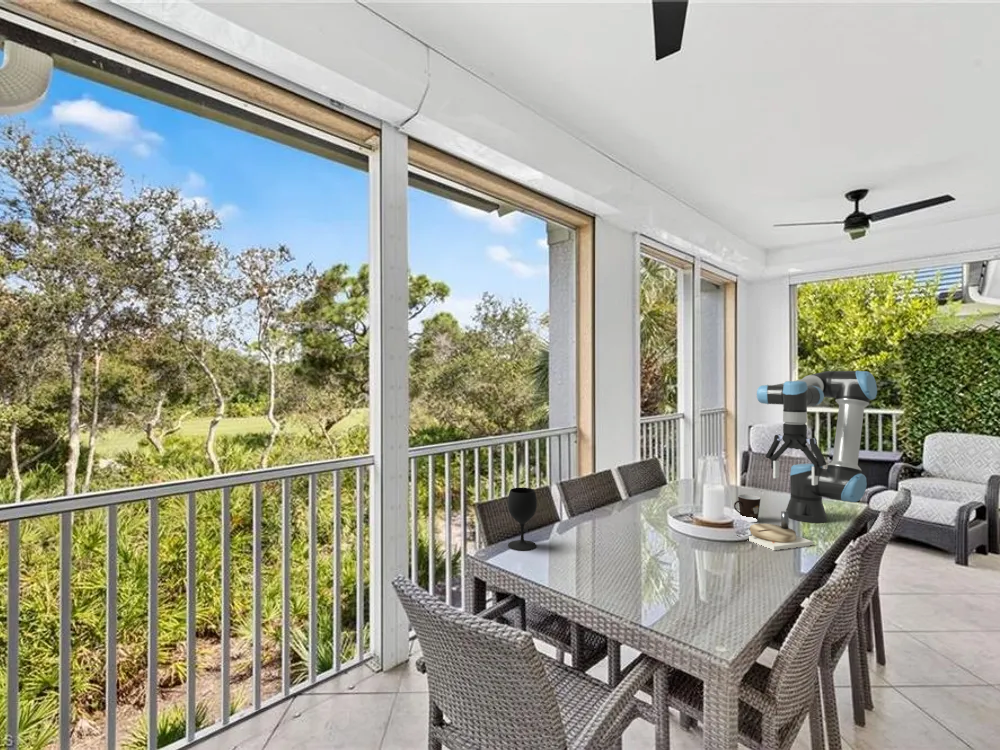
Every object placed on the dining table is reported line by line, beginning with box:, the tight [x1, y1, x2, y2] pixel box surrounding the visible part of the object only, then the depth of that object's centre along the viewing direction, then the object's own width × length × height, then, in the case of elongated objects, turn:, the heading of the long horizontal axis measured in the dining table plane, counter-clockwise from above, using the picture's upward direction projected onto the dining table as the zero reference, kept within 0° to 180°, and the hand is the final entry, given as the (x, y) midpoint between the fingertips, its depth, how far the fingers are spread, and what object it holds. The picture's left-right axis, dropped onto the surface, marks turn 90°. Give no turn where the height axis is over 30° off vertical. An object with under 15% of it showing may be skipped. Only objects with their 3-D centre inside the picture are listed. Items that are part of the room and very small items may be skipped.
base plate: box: [748, 535, 814, 551], centre depth 186 cm, size 18×18×2 cm
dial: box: [749, 510, 797, 542], centre depth 186 cm, size 15×15×8 cm
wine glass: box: [507, 487, 538, 552], centre depth 179 cm, size 10×10×20 cm
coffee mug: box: [733, 494, 762, 520], centre depth 211 cm, size 12×9×10 cm
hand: (794, 481), depth 183 cm, fingers open, 13 cm apart
